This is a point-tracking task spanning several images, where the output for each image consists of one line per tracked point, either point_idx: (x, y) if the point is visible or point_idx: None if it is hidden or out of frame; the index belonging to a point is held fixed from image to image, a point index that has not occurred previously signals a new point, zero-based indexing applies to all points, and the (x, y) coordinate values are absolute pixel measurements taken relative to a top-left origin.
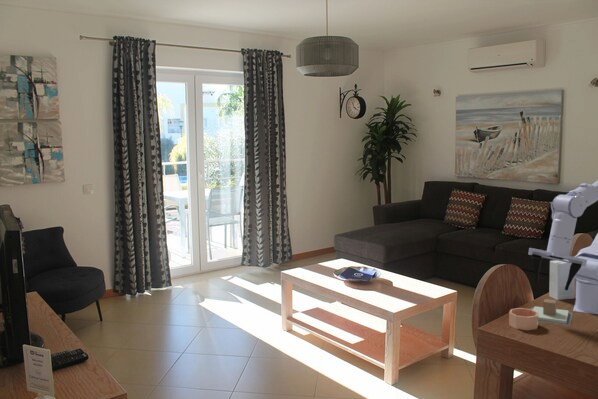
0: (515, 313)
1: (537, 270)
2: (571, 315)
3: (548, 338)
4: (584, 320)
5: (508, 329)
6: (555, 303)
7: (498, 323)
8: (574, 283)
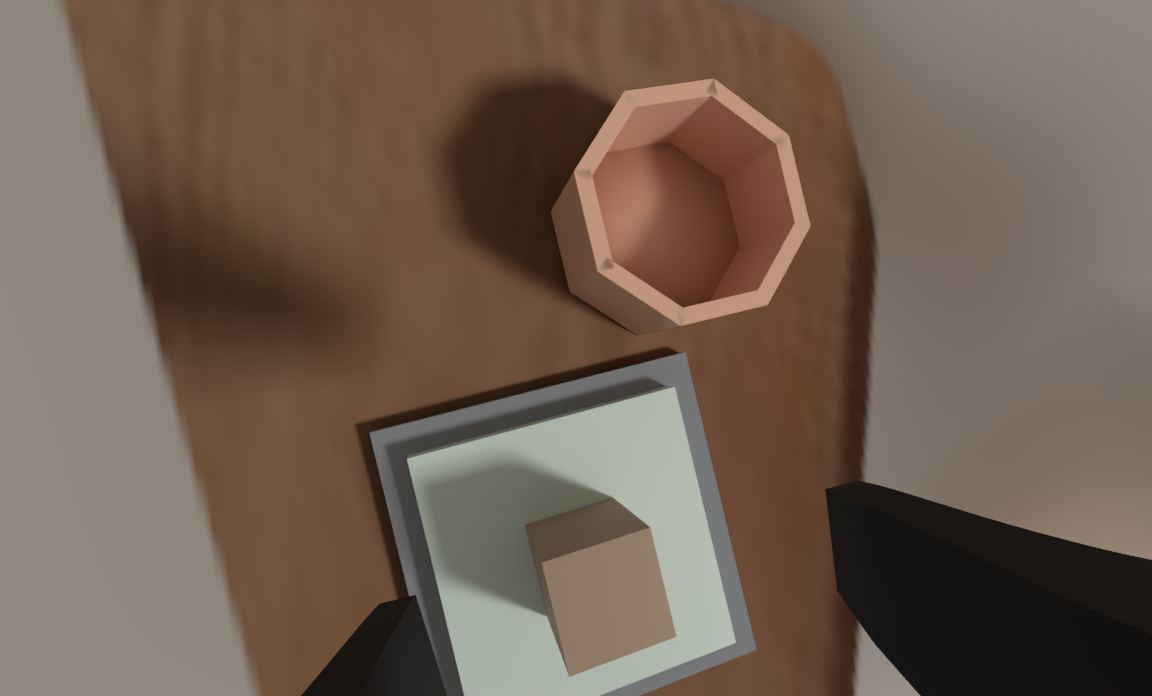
0: (759, 254)
1: (1043, 567)
2: None
3: (430, 108)
4: None
5: None
6: (544, 574)
7: None
8: None
